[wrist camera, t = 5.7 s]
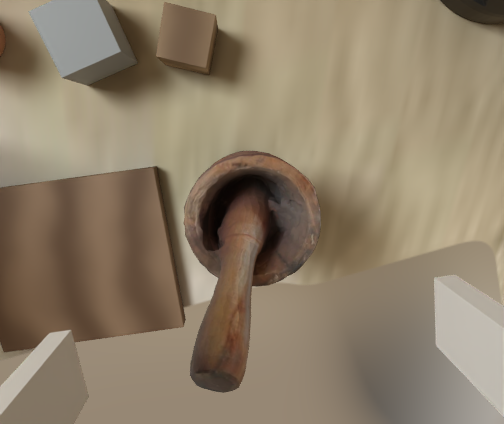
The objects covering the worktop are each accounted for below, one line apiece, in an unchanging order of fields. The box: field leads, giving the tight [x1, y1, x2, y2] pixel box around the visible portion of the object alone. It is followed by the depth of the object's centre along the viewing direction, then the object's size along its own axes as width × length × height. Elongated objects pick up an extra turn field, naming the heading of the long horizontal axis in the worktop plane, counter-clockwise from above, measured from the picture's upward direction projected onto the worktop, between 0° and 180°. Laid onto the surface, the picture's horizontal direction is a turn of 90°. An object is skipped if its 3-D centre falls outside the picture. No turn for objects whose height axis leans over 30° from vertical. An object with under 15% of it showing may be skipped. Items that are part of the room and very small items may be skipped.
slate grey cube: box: [28, 0, 138, 85], centre depth 30 cm, size 5×5×5 cm
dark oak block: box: [156, 2, 218, 75], centre depth 31 cm, size 4×4×4 cm
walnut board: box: [0, 166, 185, 352], centre depth 36 cm, size 18×16×2 cm
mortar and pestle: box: [184, 151, 321, 392], centre depth 26 cm, size 12×9×20 cm
